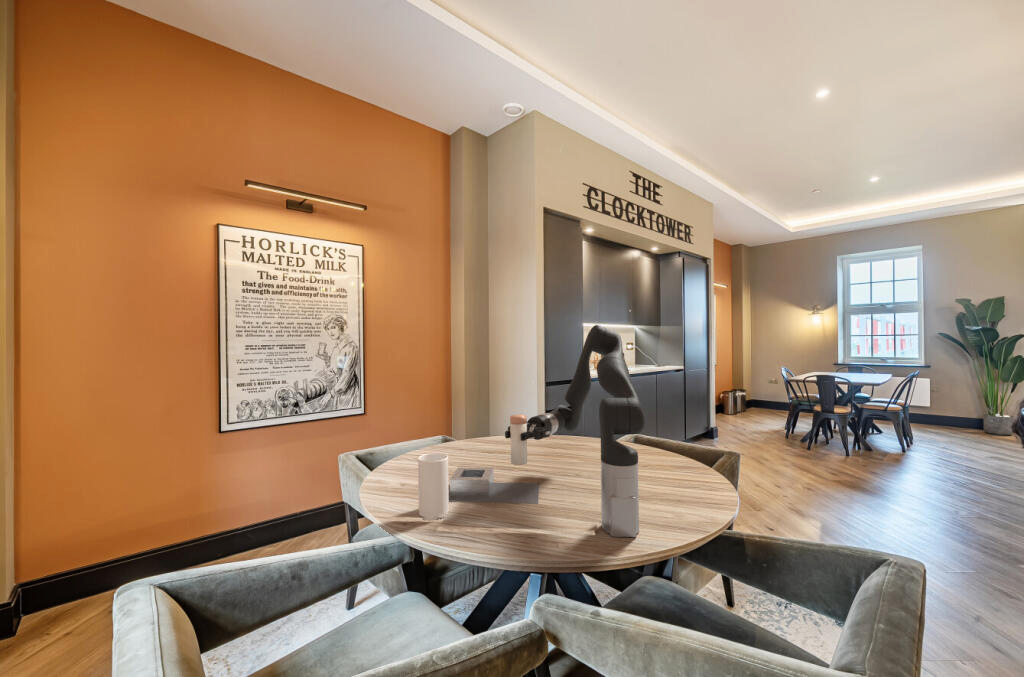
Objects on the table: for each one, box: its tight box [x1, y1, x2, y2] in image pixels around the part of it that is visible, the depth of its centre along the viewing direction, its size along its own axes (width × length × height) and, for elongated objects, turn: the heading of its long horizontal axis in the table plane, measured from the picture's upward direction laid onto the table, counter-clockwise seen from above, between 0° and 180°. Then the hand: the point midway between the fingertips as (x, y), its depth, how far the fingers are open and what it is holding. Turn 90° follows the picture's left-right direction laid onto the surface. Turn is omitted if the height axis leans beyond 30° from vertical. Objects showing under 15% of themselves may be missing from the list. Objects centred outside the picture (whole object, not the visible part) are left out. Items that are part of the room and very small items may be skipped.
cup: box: [417, 452, 450, 521], centre depth 113 cm, size 8×8×16 cm
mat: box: [449, 481, 540, 505], centre depth 127 cm, size 17×28×1 cm, turn 86°
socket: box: [449, 466, 495, 497], centre depth 129 cm, size 12×12×5 cm
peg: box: [509, 414, 528, 466], centre depth 123 cm, size 5×5×14 cm
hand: (513, 436), depth 120 cm, fingers closed on peg, 5 cm apart
